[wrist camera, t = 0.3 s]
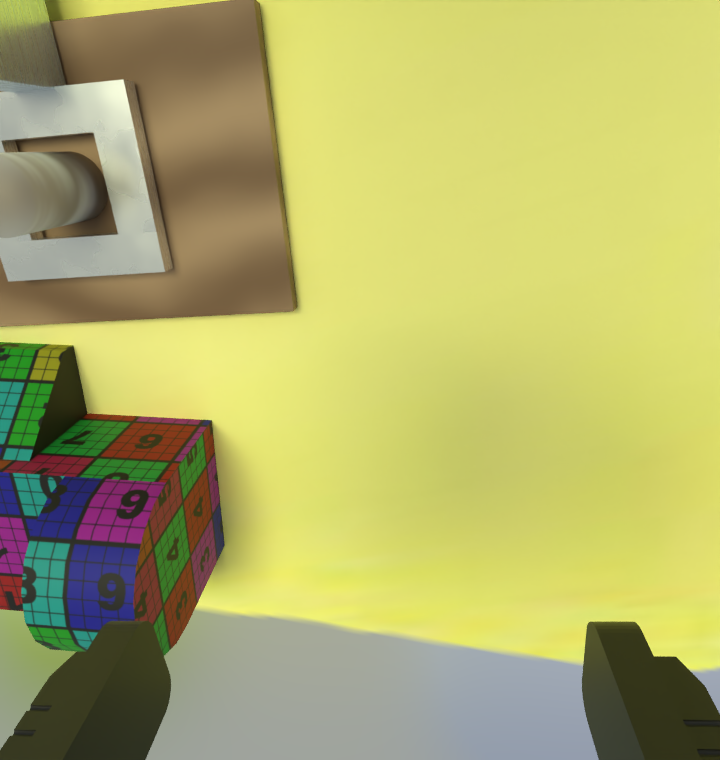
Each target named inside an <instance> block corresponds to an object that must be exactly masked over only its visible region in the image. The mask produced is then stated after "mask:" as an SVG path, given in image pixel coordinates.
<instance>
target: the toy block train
mask: <svg viewBox="0 0 720 760" xmlns="http://www.w3.org/2000/svg"><path fill="white" fill-rule="evenodd" d="M223 547H224V535H223V526H222V516H221V507H220V497H219V487H218V478H217V468H216V459H215V449H214V439H213V430H212V420H194V419H176V418H158V417H140V416H121V415H103V414H87V410H86V405H85V401H84V396H83V391H82V386H81V381H80V376H79V371H78V366H77V361H76V356H75V352H74V347H73V346H71V345H49V344H27V343H5V342H0V609H5V610H17V611H24V617H25V622H26V624H27V626H28V628H29V630H30V632H31V633H32V635H33V637H34V639H35V641H37V642H38V643H40V644H42V645H44V646H45V647H47V648H49V649H54V650H66V651H77V652H86V651H87V649H88V648H89V646H90V645H91V643H92V641H93V640H94V638H95V637H96V635H97V634H98V632H99V631H100V629H101V628H102V627H103V626H104V624H106V623H107V622H109V621H149V622H151V623H152V625H153V627H154V629H155V632H156V635H157V638H158V641H159V644H160V647H161V650H162V653H163V656H164V655H165V654H166V653H167V652H168V651H169V650H170V649H171V648H172V647H173V646H174V645H175V644H176V643H177V641H178V640H179V638H180V636H181V634H182V633H183V631H184V629H185V627H186V626H187V624H188V622H189V620H190V617H191V615H192V613H193V611H194V609H195V607H196V605H197V603H198V600H199V598H200V596H201V594H202V592H203V590H204V588H205V586H206V583H207V581H208V579H209V577H210V575H211V573H212V571H213V569H214V566H215V564H216V562H217V560H218V558H219V556H220V554H221V552H222V549H223Z"/></svg>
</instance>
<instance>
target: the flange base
mask: <svg viewBox="0 0 720 760" xmlns="http://www.w3.org/2000/svg"><path fill="white" fill-rule="evenodd" d="M50 24H51V28H52V32H53V36H54V39H55V43H56V47H57V51H58V55H59V59H60V63H61V67H62V71H63V75H64V79H65V83H66V85H74V84H84V83H93V82H103V81H113V80H122V79H124V80H128V81H133V82H134V85H135V90H136V94H137V99H138V104H139V109H140V113H141V118H142V123H143V128H144V132H145V137H146V142H147V147H148V152H149V156H150V161H151V166H152V171H153V175H154V180H155V185H156V190H157V194H158V199H159V204H160V209H161V214H162V218H163V223H164V228H165V233H166V237H167V242H168V247H169V252H170V256H171V261H172V266H173V268H172V269H170V270H168V271H166V272H156V273H139V274H123V275H107V276H90V277H74V278H58V279H41V280H25V281H9V282H8V279H7V276H6V273H5V270H4V267H3V264H2V261H1V258H0V326H18V325H38V324H57V323H76V322H96V321H115V320H135V319H154V318H174V317H193V316H213V315H232V314H251V313H271V312H290V311H294V310H295V309H296V307H297V301H296V293H295V285H294V277H293V269H292V261H291V253H290V245H289V237H288V229H287V221H286V213H285V205H284V197H283V189H282V181H281V173H280V165H279V157H278V149H277V141H276V133H275V125H274V117H273V109H272V101H271V93H270V85H269V77H268V69H267V61H266V53H265V45H264V37H263V29H262V21H261V13H260V5H259V2H257V1H256V0H230V1H222V2H213V3H205V4H196V5H188V6H179V7H171V8H162V9H154V10H145V11H137V12H128V13H120V14H111V15H103V16H94V17H86V18H77V19H69V20H60V21H52V22H50ZM0 92H5V91H0ZM16 145H17V148H18V152H4V153H0V238H12V237H17V236H21V235H26V234H30V233H35V232H39V231H42V233H43V236H44V237H57V236H71V235H85V234H99V233H114V232H118V231H117V227H116V223H115V219H114V215H113V211H112V207H111V203H110V198H109V194H108V190H107V186H106V182H105V178H104V174H103V170H102V166H101V161H100V157H99V153H98V149H97V145H96V141H95V137H94V134H84V135H73V136H62V137H51V138H40V139H29V140H19V141H16Z"/></svg>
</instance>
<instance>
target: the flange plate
mask: <svg viewBox="0 0 720 760" xmlns="http://www.w3.org/2000/svg"><path fill="white" fill-rule="evenodd" d="M0 91H5V92H0V153H4V152H18V148H17V145H16V141H19V140H29V139H40V138H51V137H62V136H73V135H84V134H94V137H95V141H96V145H97V149H98V153H99V157H100V161H101V166H102V170H103V174H104V178H105V182H106V186H107V190H108V194H109V198H110V203H111V207H112V211H113V215H114V219H115V223H116V227H117V231H118V232H114V233H99V234H85V235H71V236H57V237H44V236H43V233H42V231H39V232H35V233H30V234H26V235H21V236H17V237H12V238H0V258H1V261H2V264H3V267H4V270H5V273H6V276H7V279H8V282H9V281H25V280H41V279H58V278H74V277H90V276H107V275H123V274H139V273H156V272H166V271H168V270H170V269H172V268H173V266H172V261H171V256H170V252H169V247H168V242H167V237H166V233H165V228H164V223H163V218H162V214H161V209H160V204H159V199H158V194H157V190H156V185H155V180H154V175H153V171H152V166H151V161H150V156H149V152H148V147H147V142H146V137H145V132H144V128H143V123H142V118H141V113H140V109H139V104H138V99H137V94H136V90H135V85H134V82H133V81H128V80H124V79H122V80H113V81H103V82H93V83H84V84H74V85H66V83H65V79H64V75H63V71H62V67H61V63H60V59H59V55H58V51H57V47H56V43H55V39H54V36H53V32H52V28H51V24H50V20H49V16H48V12H47V8H46V4H45V0H0Z"/></svg>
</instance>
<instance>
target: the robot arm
mask: <svg viewBox="0 0 720 760" xmlns="http://www.w3.org/2000/svg"><path fill="white" fill-rule="evenodd" d="M170 691H171V679H170V674H169V671H168V668H167V665H166V662H165V659H164V656H163V653H162V650H161V647H160V644H159V641H158V638H157V635H156V632H155V629H154V627H153V625H152V623H151V622H149V621H109V622H107V623H106V624H104V626H103V627H102V628H101V629H100V631H99V632H98V634H97V635H96V637H95V638H94V640H93V641H92V643H91V645H90V646H89V648H88V649H87V651H86V652H76V653H75V654H74V655H73V656H72V657H70V658H69V659H68V660H67V661H66V662H65V663H64V664H63V665H62V666H61V667H60V668H58V669H57V670H56V671H55V672H54V673H53V674H52V675H51V676H50V677H49V679H48V680H47V682H46V683H45V684H44V686H43V687H42V689H41V690H40V692H39V693H38V695H37V696H36V698H35V699H34V701H33V702H32V704H31V708H30V711H26V713H25V714H24V716H23V717H22V719H21V720H20V722H19V723H18V725H17V726H16V728H15V729H14V734H13V736H10V737H9V738H8V740H7V741H6V743H5V744H4V745H3V747H2V748H1V750H0V760H145V759H146V757H147V754H148V752H149V750H150V747H151V745H152V743H153V741H154V738H155V736H156V734H157V731H158V729H159V726H160V724H161V722H162V719H163V717H164V715H165V712H166V710H167V706H168V703H169V698H170ZM582 692H583V700H584V707H585V712H586V717H587V721H588V724H589V728H590V731H591V734H592V738H593V741H594V745H595V748H596V751H597V755H598V758H599V760H720V714H719V712H718V710H717V708H716V706H715V705H714V702H713V701H712V699H711V697H710V695H709V693H708V691H707V689H706V687H705V686H704V685H703V684H702V683H701V682H700V681H699V680H698V679H697V678H696V677H695V676H694V675H693V674H692V673H691V672H690V671H689V670H688V669H687V668H686V666H685V665H684V664H683V663H682V662H681V661H680V660H679V659H678V658H677V657H654V656H653V654H652V652H651V650H650V648H649V645H648V643H647V641H646V639H645V637H644V635H643V633H642V631H641V629H640V627H639V626H638V625H637V623H635V622H589V623H588V625H587V632H586V643H585V654H584V665H583V676H582Z"/></svg>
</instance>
